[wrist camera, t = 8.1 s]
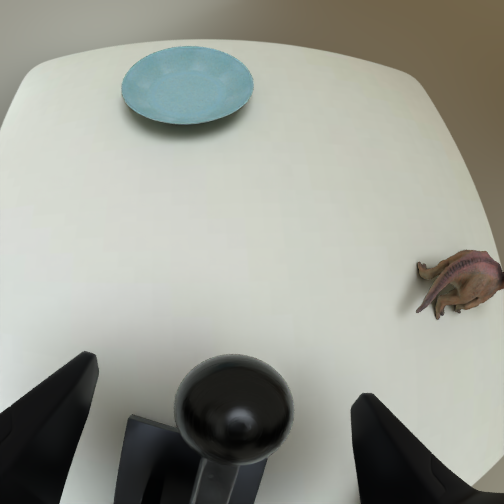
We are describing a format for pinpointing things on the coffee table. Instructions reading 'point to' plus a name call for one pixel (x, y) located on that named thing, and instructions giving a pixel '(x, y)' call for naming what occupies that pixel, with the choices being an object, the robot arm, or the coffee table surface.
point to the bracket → (169, 468)
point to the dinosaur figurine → (463, 280)
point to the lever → (231, 419)
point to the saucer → (187, 85)
